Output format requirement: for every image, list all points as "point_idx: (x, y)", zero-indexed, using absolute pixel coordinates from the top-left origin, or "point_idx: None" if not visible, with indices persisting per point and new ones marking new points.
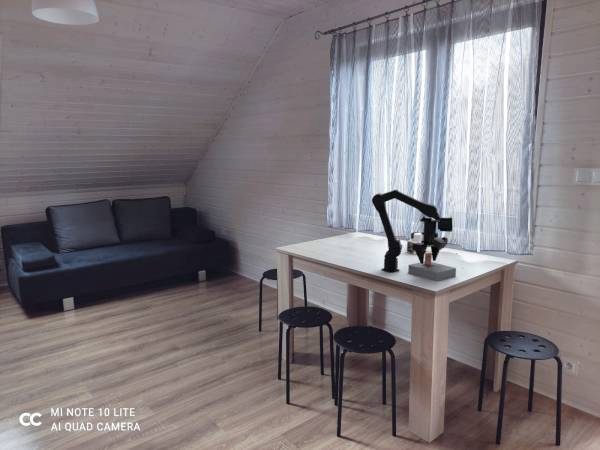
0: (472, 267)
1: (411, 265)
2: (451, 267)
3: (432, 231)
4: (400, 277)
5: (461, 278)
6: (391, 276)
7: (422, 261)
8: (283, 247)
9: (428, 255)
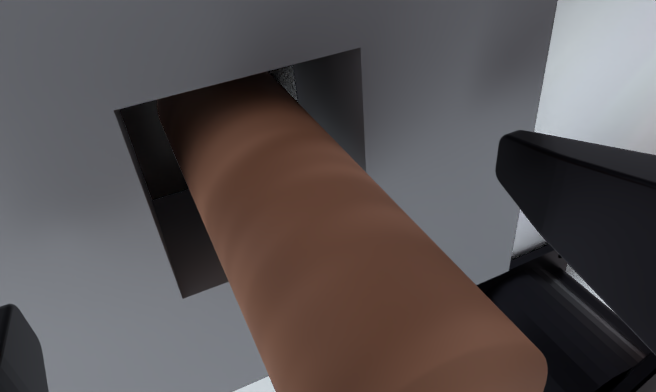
0: None
1: (506, 238)
2: None
3: None
4: (638, 63)
5: None
6: (652, 130)
7: (581, 142)
8: None
9: (496, 306)
